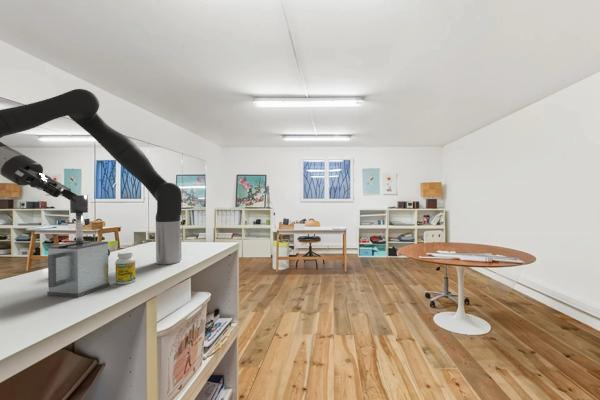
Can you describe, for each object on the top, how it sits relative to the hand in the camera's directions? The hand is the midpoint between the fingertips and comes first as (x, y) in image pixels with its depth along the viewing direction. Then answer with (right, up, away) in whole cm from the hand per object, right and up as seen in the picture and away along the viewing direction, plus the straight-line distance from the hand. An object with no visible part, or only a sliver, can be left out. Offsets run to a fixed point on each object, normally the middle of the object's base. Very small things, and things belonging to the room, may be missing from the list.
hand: (68, 197), depth 77 cm
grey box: (+1, -27, 0) cm, 27 cm away
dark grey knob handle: (+2, -17, +2) cm, 18 cm away
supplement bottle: (+10, -27, +10) cm, 31 cm away
